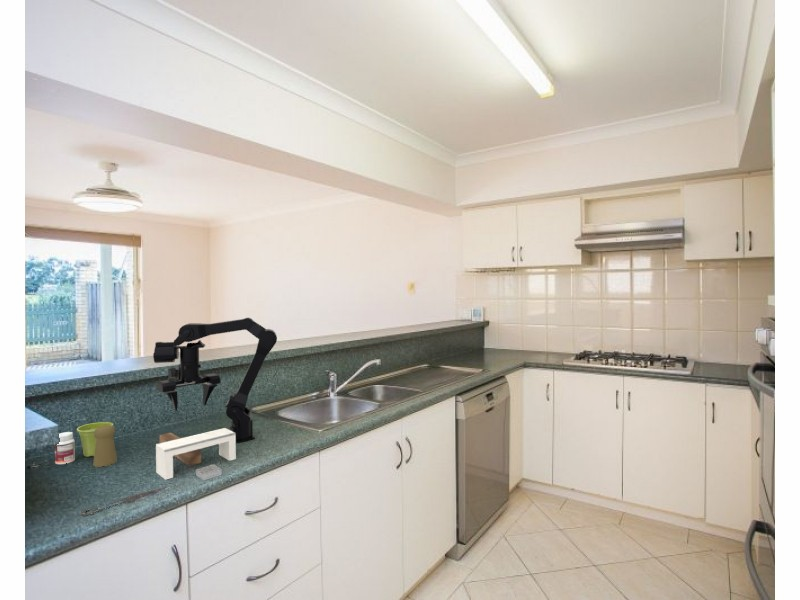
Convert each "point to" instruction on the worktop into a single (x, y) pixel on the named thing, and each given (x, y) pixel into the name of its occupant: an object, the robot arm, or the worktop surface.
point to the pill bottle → (65, 448)
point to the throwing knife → (127, 499)
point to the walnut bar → (187, 457)
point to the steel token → (208, 472)
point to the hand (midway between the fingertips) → (190, 408)
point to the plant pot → (89, 437)
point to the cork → (104, 446)
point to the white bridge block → (194, 448)
